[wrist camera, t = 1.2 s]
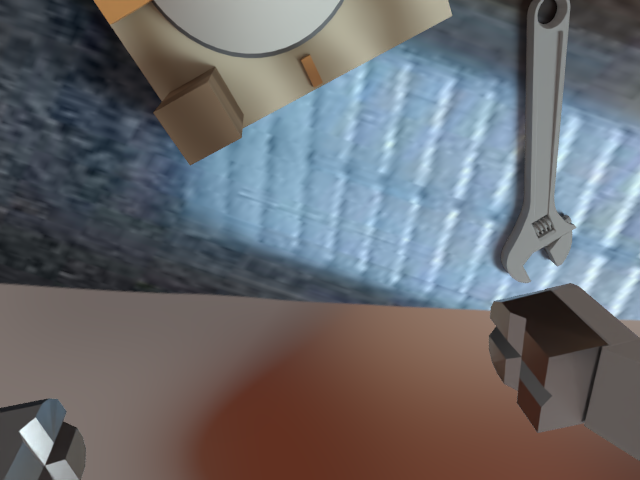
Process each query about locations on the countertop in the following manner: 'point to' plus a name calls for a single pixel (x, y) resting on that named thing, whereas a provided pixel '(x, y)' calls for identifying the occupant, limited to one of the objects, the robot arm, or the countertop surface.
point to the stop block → (201, 116)
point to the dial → (235, 20)
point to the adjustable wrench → (541, 146)
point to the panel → (277, 66)
